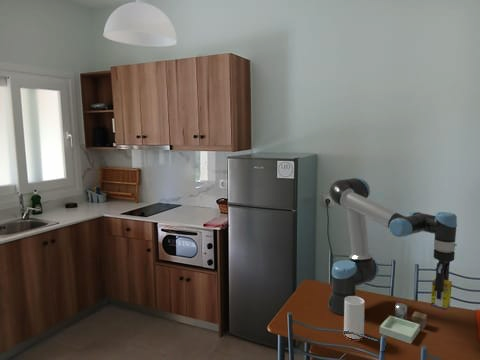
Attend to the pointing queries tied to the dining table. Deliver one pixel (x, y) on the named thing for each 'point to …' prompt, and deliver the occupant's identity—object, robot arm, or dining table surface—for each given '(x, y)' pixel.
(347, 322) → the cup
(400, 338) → the tray
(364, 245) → the robot arm
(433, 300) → the supplement box
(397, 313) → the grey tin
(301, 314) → the dining table surface
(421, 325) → the walnut block
